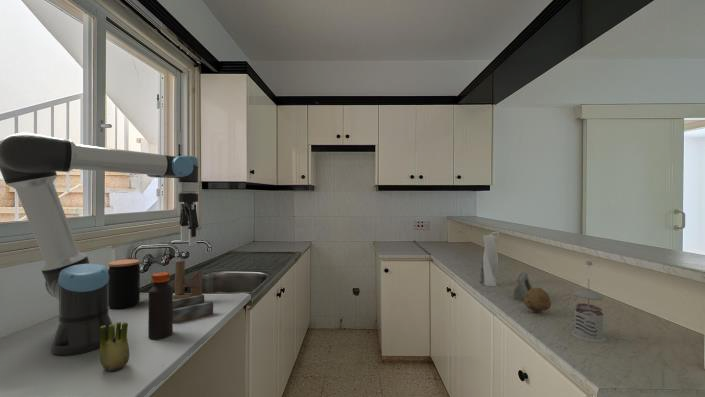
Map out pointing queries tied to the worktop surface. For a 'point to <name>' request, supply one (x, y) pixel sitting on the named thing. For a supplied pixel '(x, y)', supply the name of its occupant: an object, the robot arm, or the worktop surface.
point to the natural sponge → (537, 300)
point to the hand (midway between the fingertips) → (188, 242)
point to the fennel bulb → (114, 347)
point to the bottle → (160, 307)
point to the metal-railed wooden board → (191, 308)
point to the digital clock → (522, 286)
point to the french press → (588, 316)
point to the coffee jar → (123, 283)
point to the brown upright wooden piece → (180, 283)
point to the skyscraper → (489, 261)
